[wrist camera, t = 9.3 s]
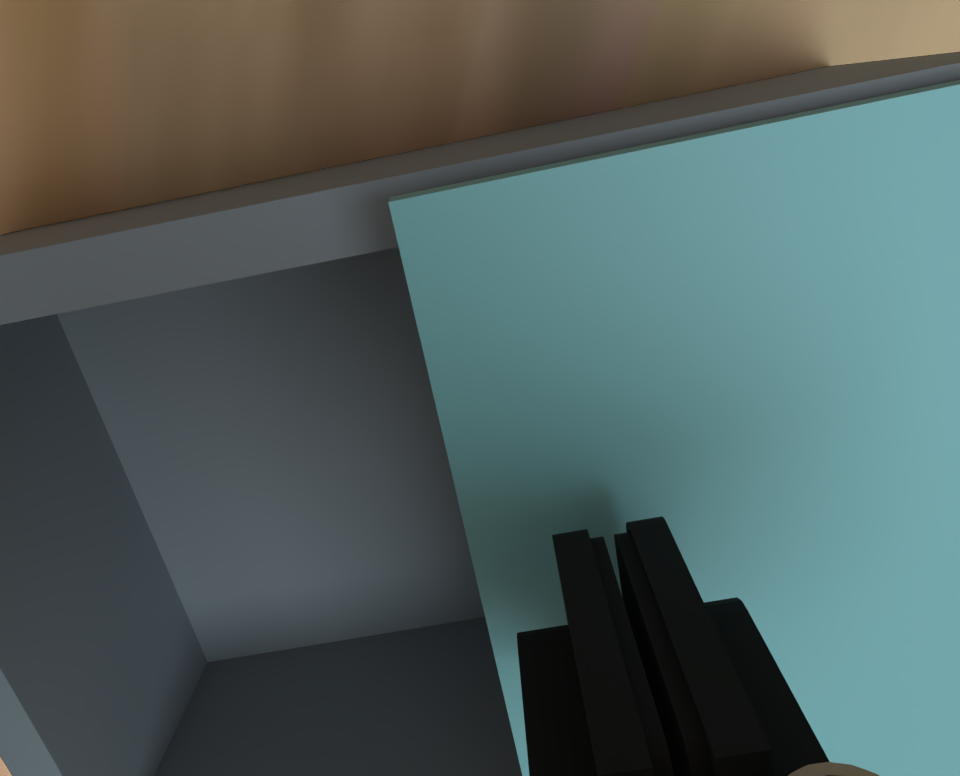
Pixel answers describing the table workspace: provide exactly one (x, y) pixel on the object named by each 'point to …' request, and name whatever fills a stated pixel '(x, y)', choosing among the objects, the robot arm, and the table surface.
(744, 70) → the table surface
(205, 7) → the table surface
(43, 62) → the table surface
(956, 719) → the flap
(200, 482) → the box
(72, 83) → the table surface
